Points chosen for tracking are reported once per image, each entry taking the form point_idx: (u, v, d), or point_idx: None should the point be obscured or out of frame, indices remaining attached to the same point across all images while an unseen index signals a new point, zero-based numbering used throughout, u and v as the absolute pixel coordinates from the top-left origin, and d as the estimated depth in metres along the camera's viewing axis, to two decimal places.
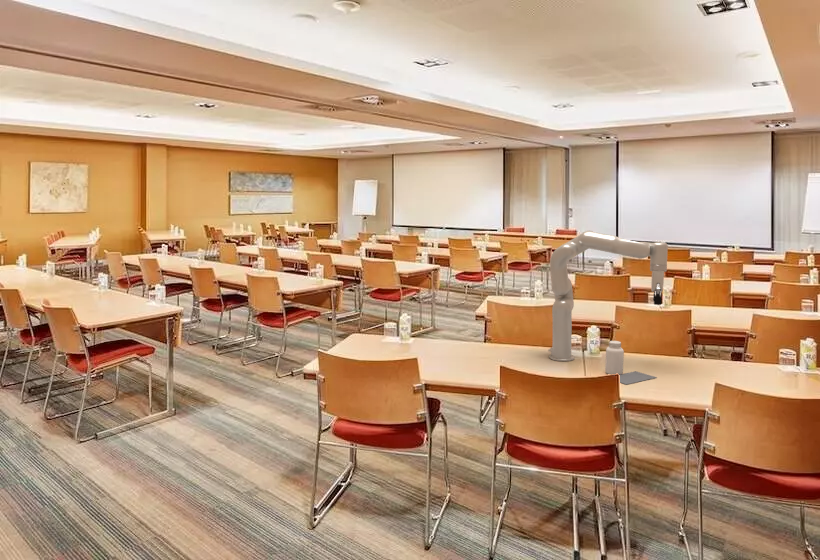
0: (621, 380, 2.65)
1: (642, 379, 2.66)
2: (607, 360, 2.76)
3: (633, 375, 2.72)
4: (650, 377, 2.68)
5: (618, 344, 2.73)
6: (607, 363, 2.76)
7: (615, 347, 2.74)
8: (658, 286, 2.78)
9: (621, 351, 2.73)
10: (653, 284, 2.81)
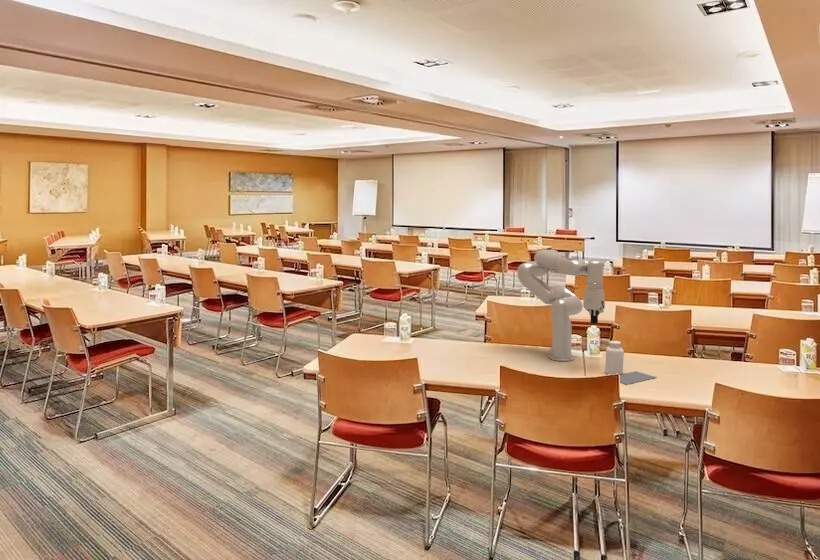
0: (621, 380, 2.65)
1: (642, 379, 2.66)
2: (607, 360, 2.76)
3: (633, 375, 2.72)
4: (650, 377, 2.68)
5: (618, 344, 2.73)
6: (607, 363, 2.76)
7: (615, 347, 2.74)
8: (602, 308, 2.81)
9: (621, 351, 2.73)
10: (598, 303, 2.80)
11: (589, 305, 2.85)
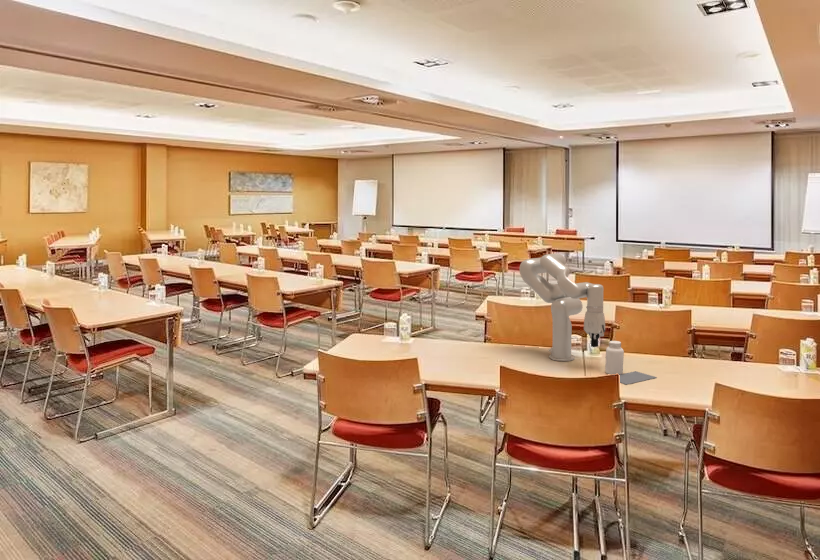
0: (621, 380, 2.65)
1: (642, 379, 2.66)
2: (607, 360, 2.76)
3: (633, 375, 2.72)
4: (650, 377, 2.68)
5: (618, 344, 2.73)
6: (607, 363, 2.76)
7: (615, 347, 2.74)
8: (602, 332, 2.82)
9: (621, 351, 2.73)
10: (599, 326, 2.81)
11: (589, 328, 2.85)
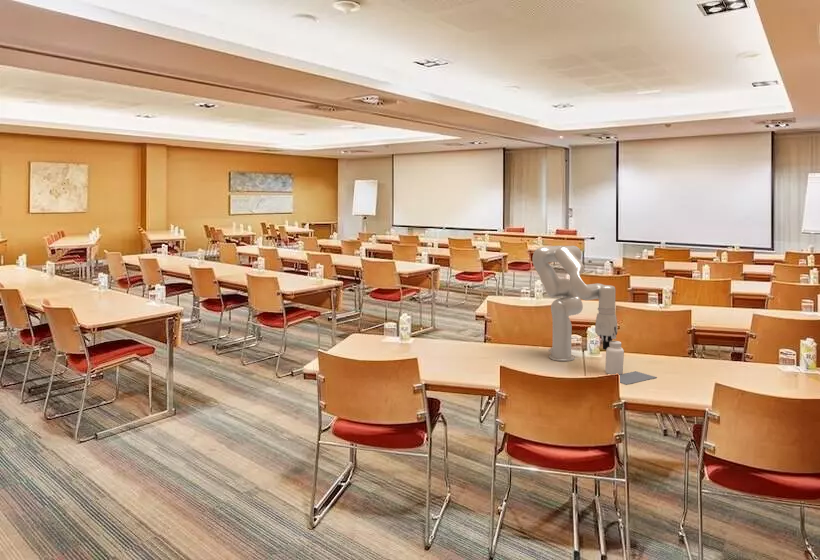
0: (621, 380, 2.65)
1: (642, 379, 2.66)
2: (607, 360, 2.76)
3: (633, 375, 2.72)
4: (650, 377, 2.68)
5: (618, 344, 2.73)
6: (607, 363, 2.76)
7: (615, 347, 2.74)
8: (614, 334, 2.76)
9: (621, 351, 2.73)
10: (611, 329, 2.74)
11: (601, 331, 2.79)
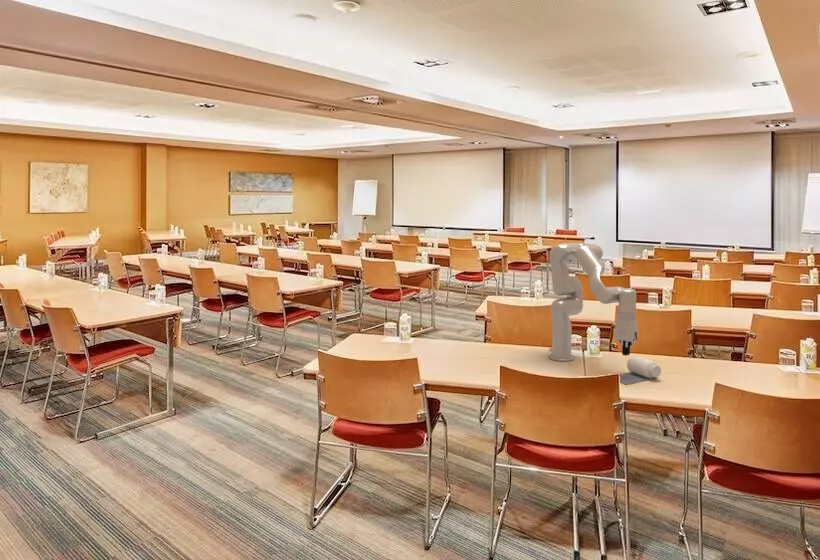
0: (621, 380, 2.65)
1: (642, 379, 2.66)
2: None
3: (633, 375, 2.72)
4: None
5: (651, 370, 2.63)
6: (642, 358, 2.73)
7: (650, 367, 2.65)
8: (635, 340, 2.65)
9: (644, 370, 2.66)
10: (631, 334, 2.64)
11: (621, 336, 2.69)
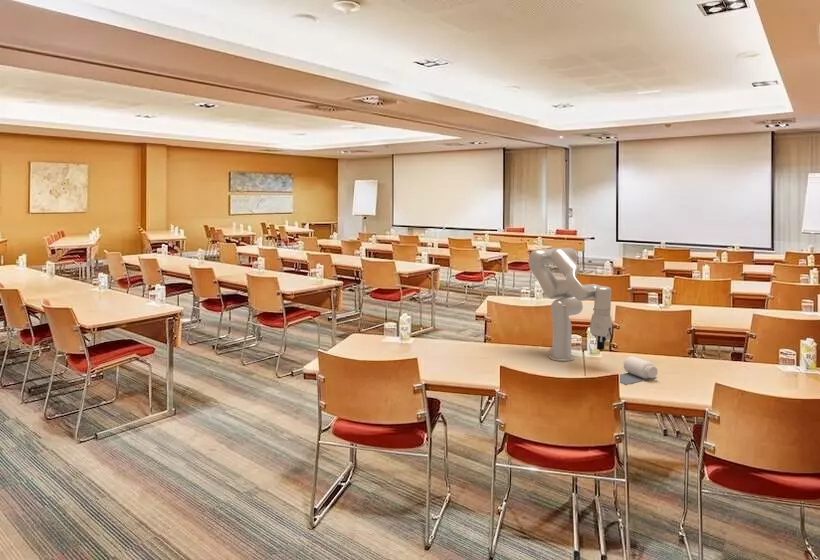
0: (621, 380, 2.65)
1: (642, 379, 2.66)
2: (638, 359, 2.70)
3: (633, 375, 2.72)
4: None
5: (647, 373, 2.62)
6: (636, 359, 2.71)
7: (646, 370, 2.64)
8: (609, 335, 2.79)
9: (641, 374, 2.65)
10: (606, 329, 2.77)
11: (596, 331, 2.82)
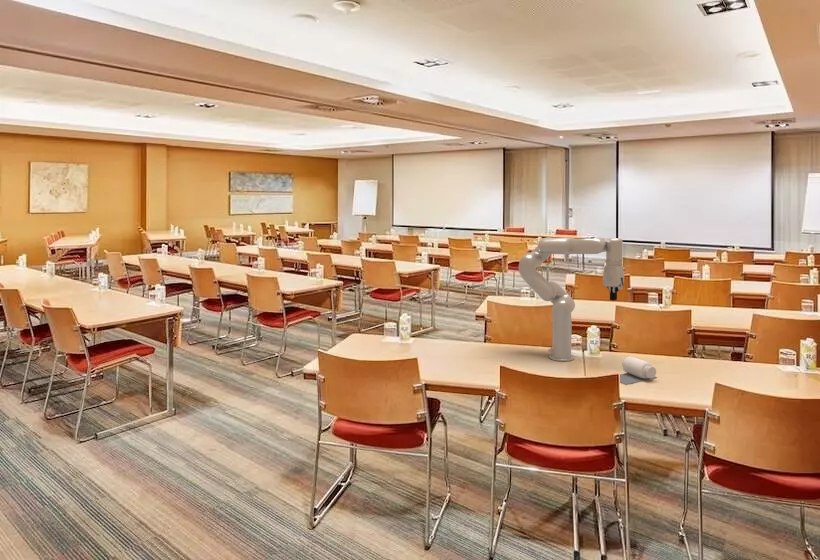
0: (621, 380, 2.65)
1: (642, 379, 2.66)
2: (635, 360, 2.69)
3: (633, 375, 2.72)
4: None
5: (646, 374, 2.62)
6: (633, 359, 2.71)
7: (644, 371, 2.64)
8: (621, 285, 2.85)
9: (640, 376, 2.65)
10: (618, 279, 2.84)
11: (608, 282, 2.89)
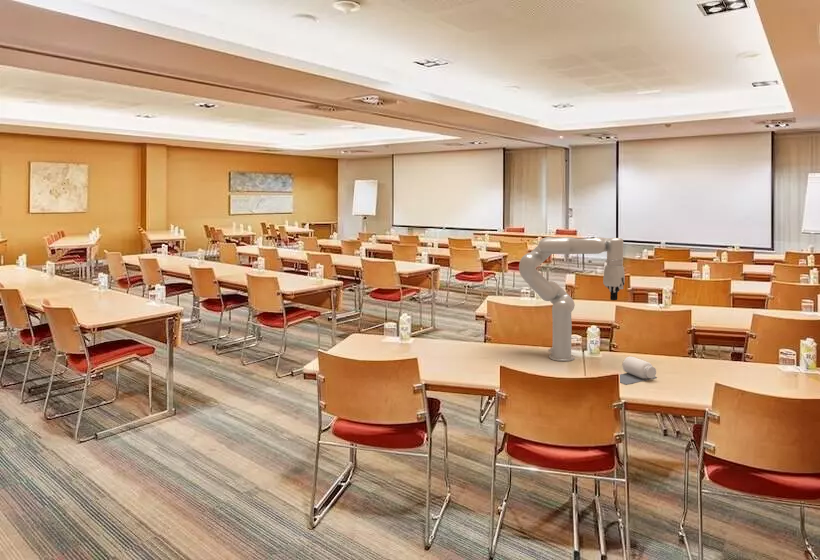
0: (621, 380, 2.65)
1: (642, 379, 2.66)
2: (636, 360, 2.69)
3: (633, 375, 2.72)
4: None
5: (646, 374, 2.62)
6: (633, 359, 2.71)
7: (644, 371, 2.64)
8: (622, 285, 2.86)
9: (640, 375, 2.65)
10: (619, 279, 2.85)
11: (609, 282, 2.89)
